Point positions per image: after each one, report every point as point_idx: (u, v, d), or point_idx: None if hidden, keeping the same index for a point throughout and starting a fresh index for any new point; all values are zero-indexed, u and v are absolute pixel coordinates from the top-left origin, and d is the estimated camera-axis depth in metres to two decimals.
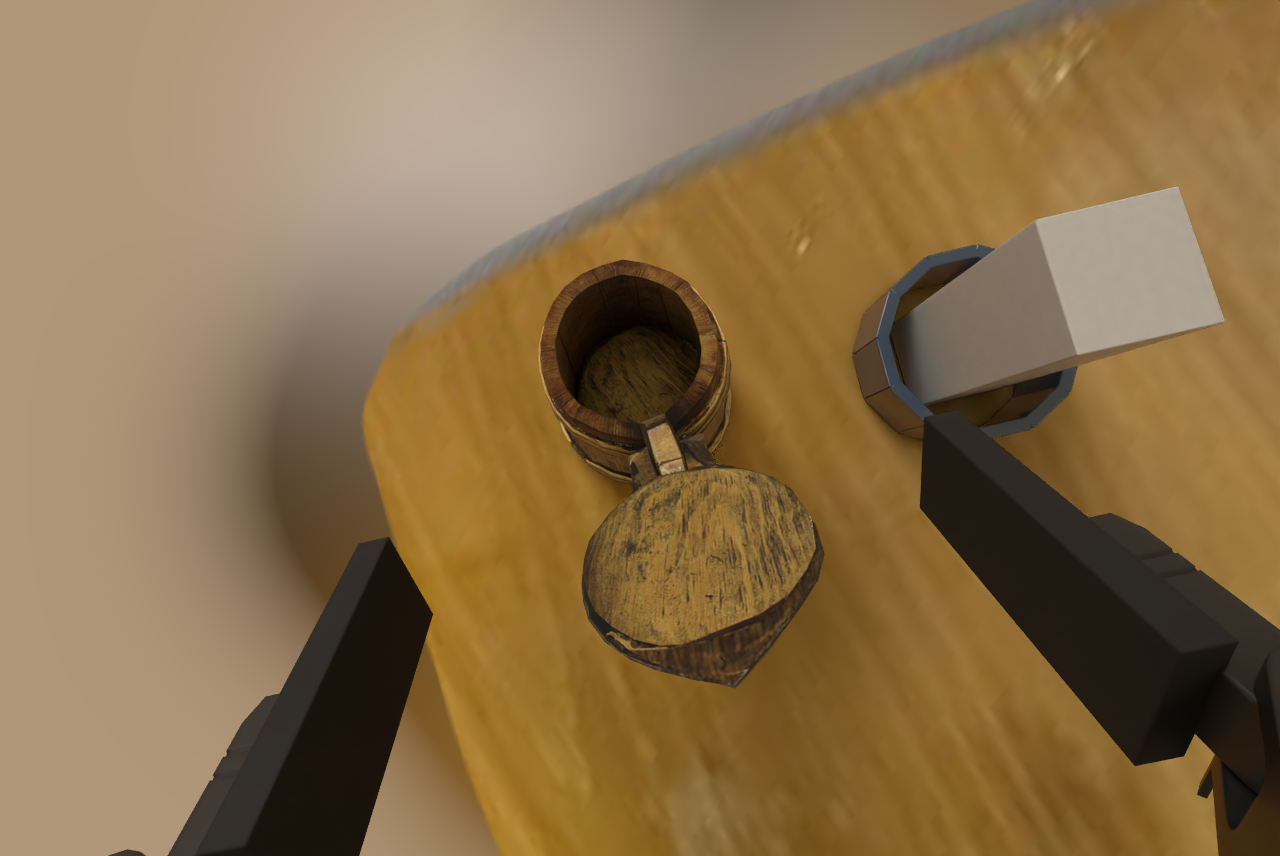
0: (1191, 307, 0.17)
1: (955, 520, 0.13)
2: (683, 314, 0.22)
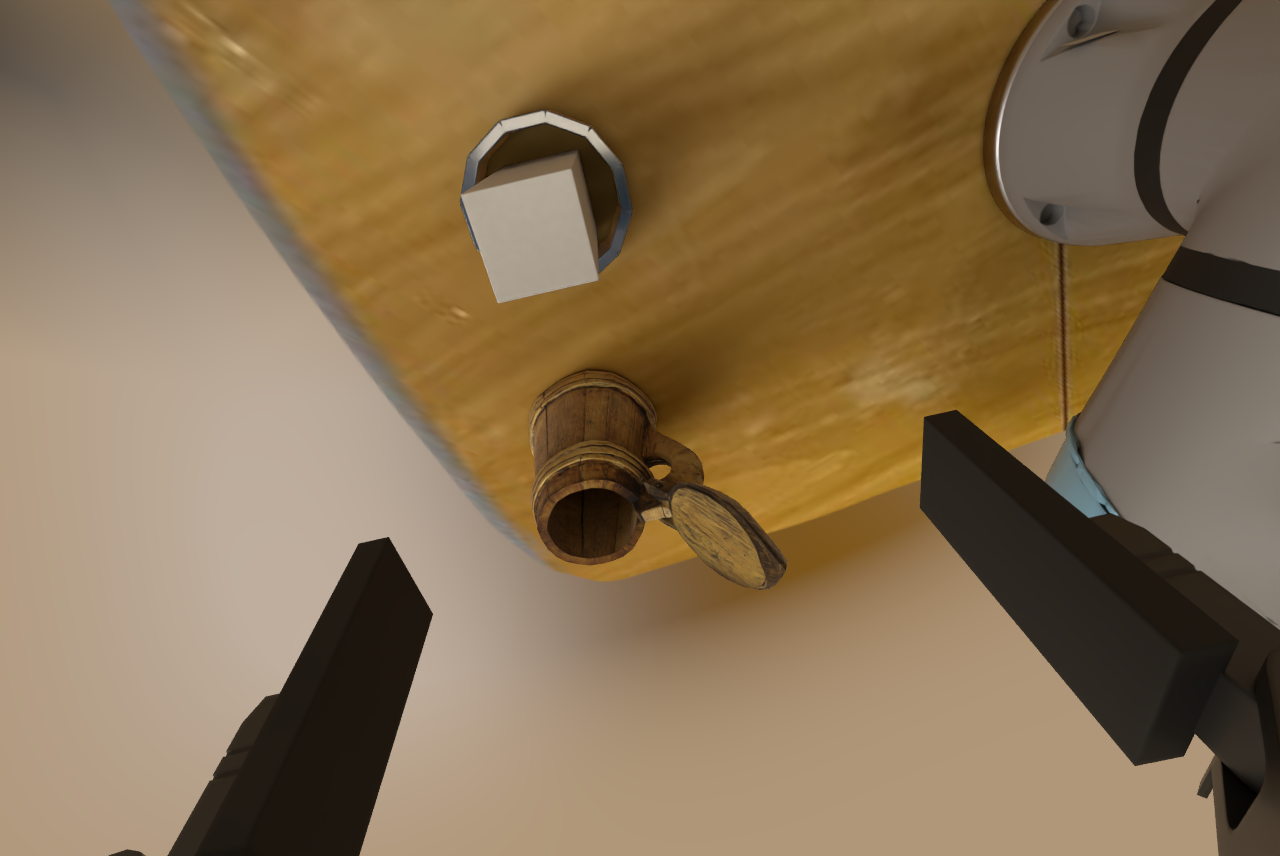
0: (560, 194, 0.22)
1: (955, 520, 0.13)
2: None
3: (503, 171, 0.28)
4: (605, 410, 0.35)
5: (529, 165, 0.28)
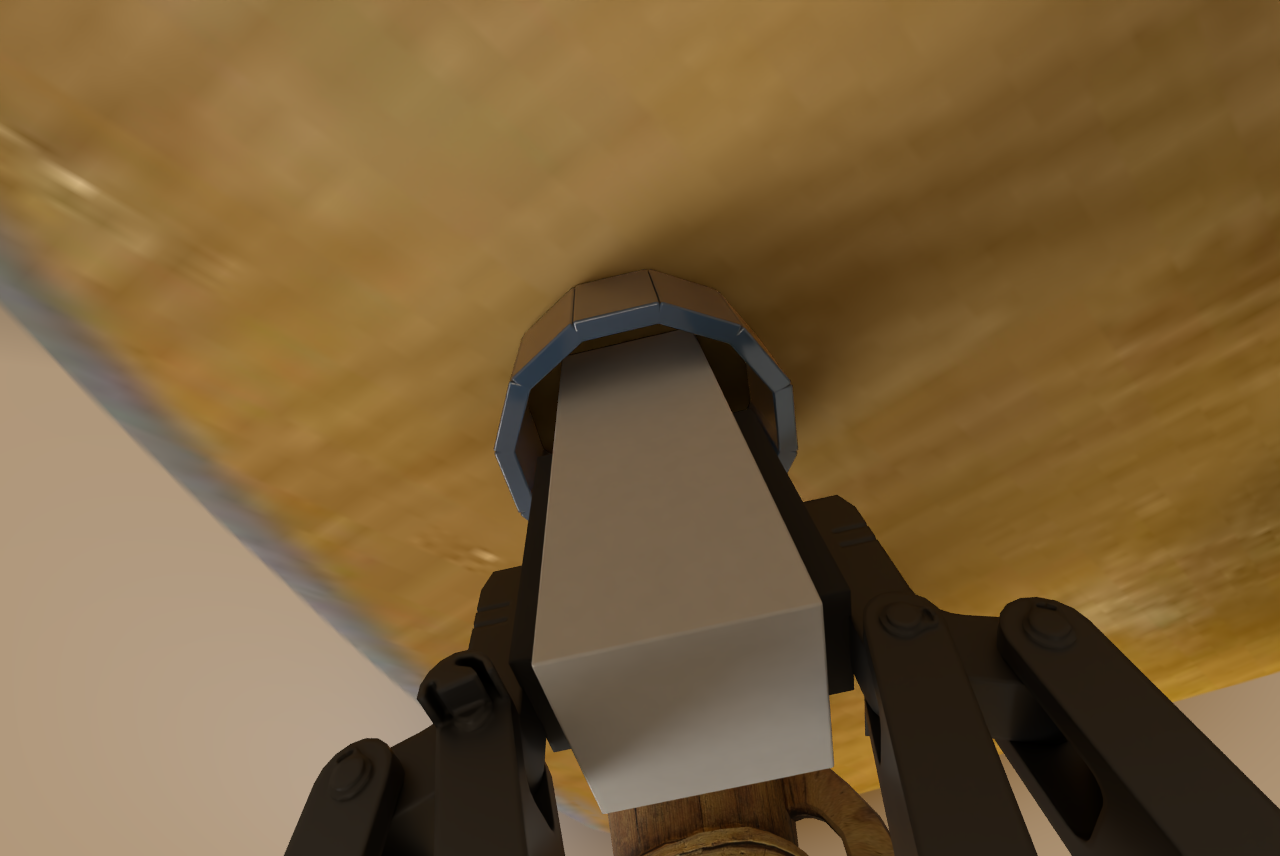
0: (783, 649, 0.09)
1: None
2: None
3: (579, 415, 0.15)
4: None
5: (630, 406, 0.15)
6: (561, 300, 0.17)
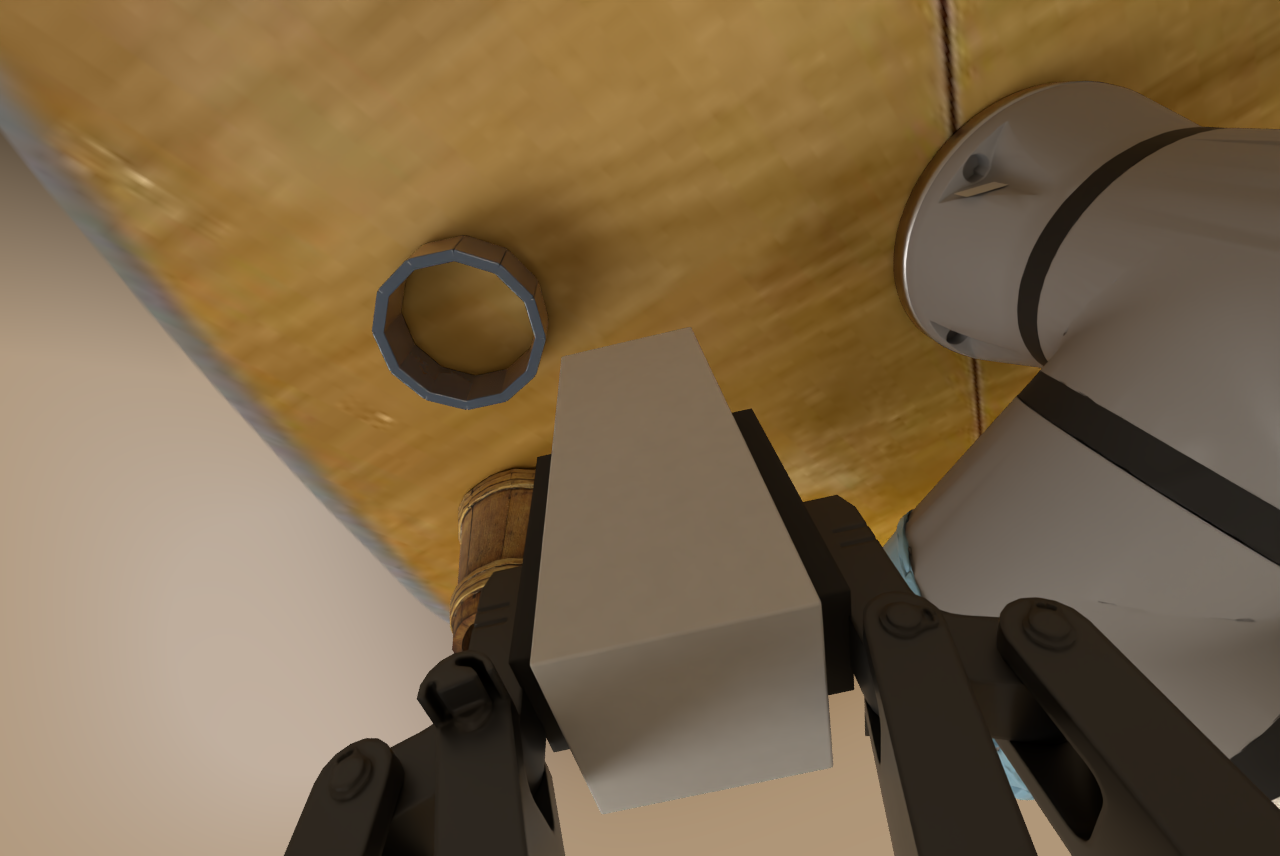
0: (782, 649, 0.09)
1: None
2: None
3: (578, 414, 0.15)
4: (527, 517, 0.36)
5: (629, 406, 0.15)
6: None
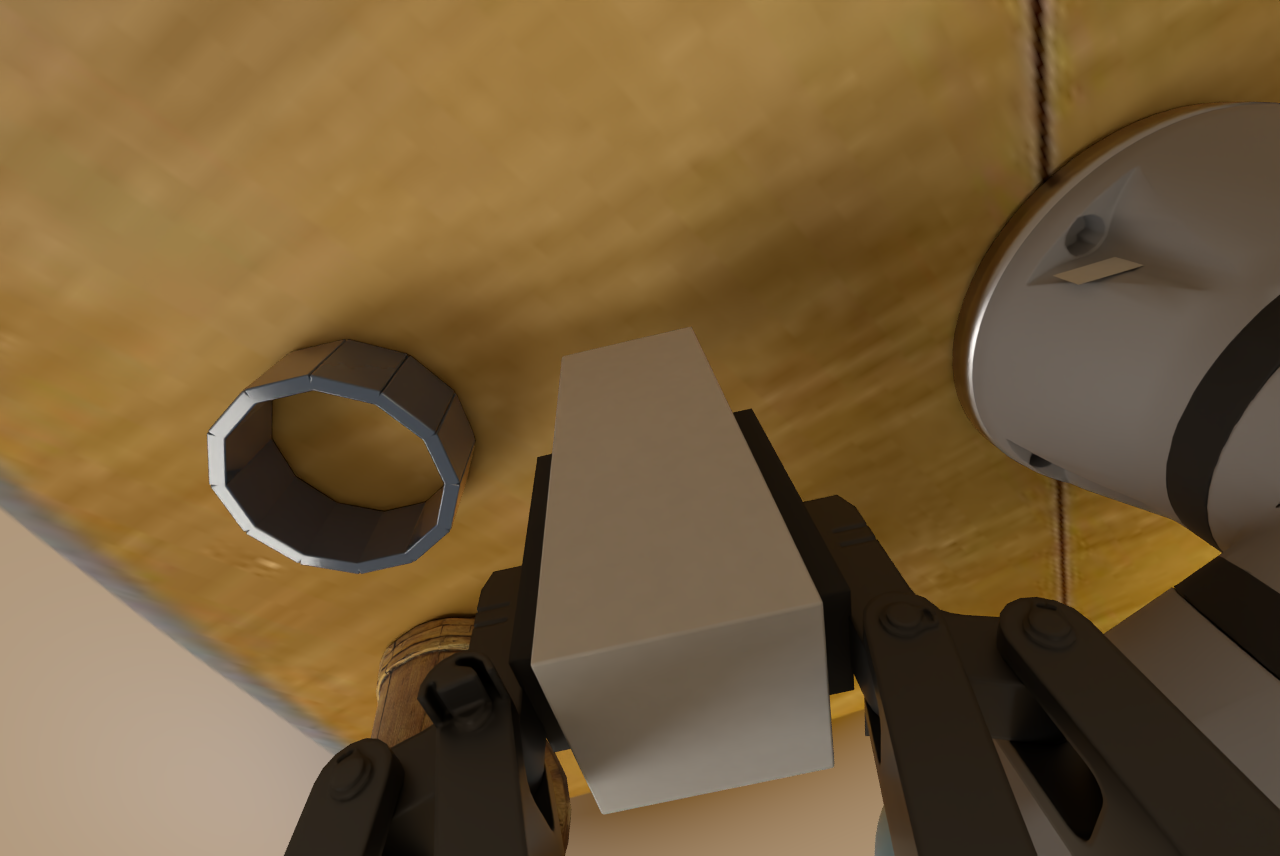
0: (783, 648, 0.09)
1: None
2: None
3: (579, 414, 0.15)
4: None
5: (629, 405, 0.15)
6: None
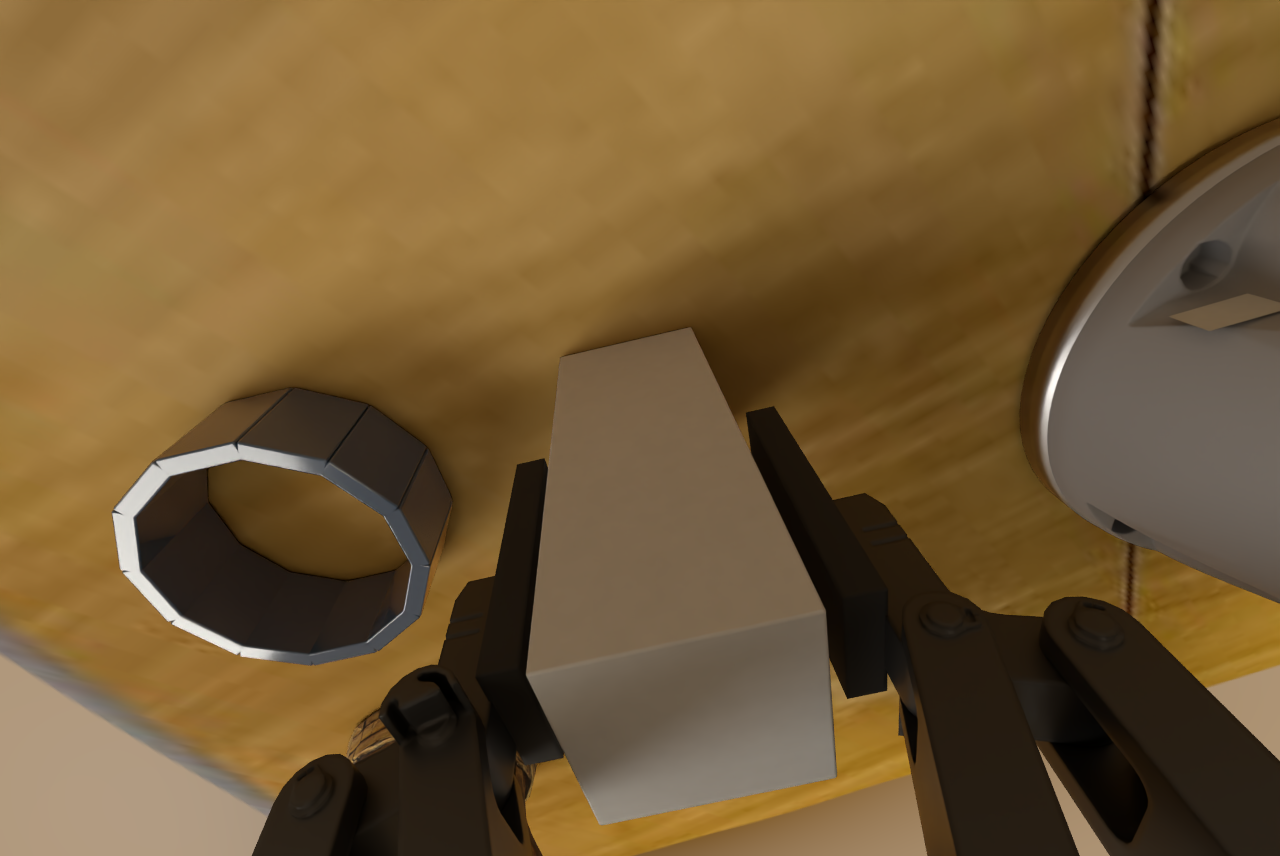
0: (785, 657, 0.08)
1: None
2: None
3: (577, 416, 0.15)
4: None
5: (628, 407, 0.14)
6: None
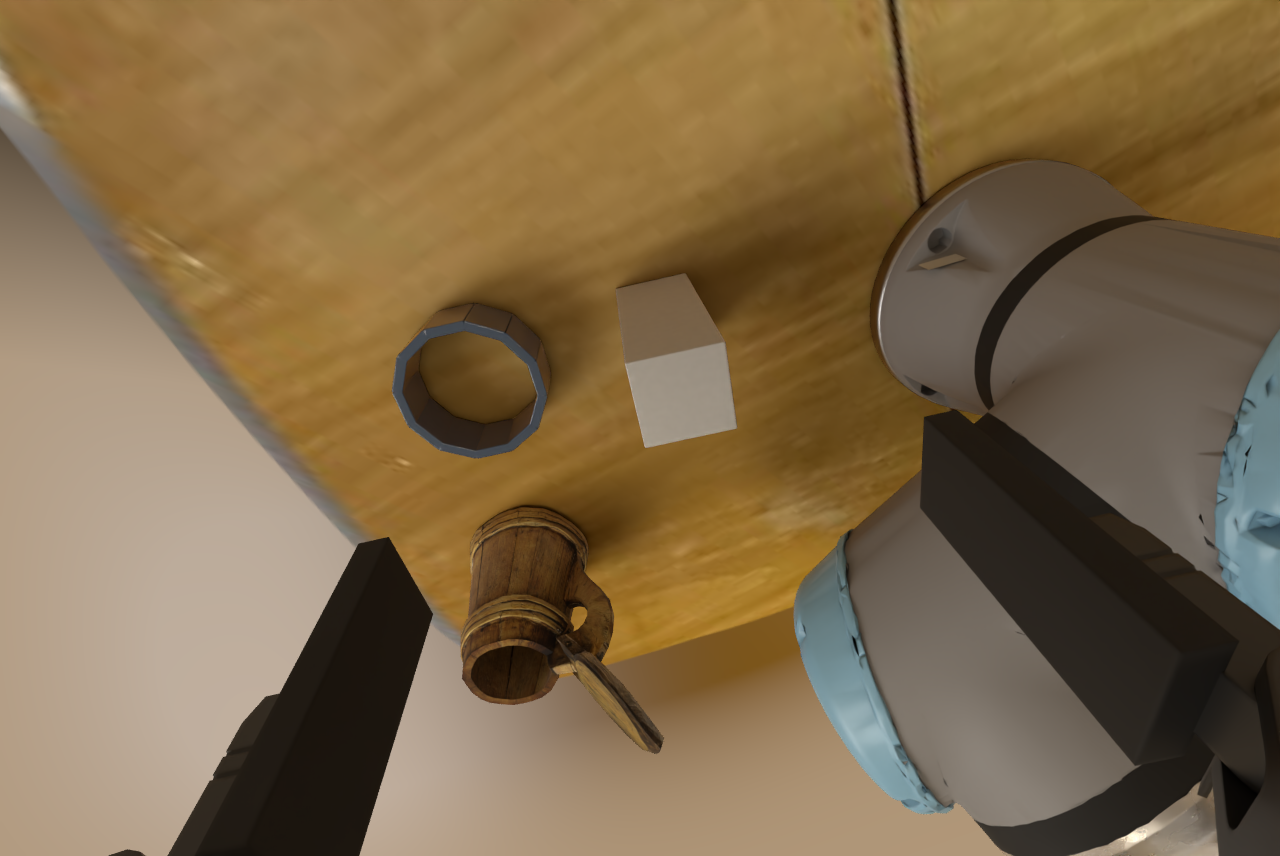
0: (712, 362, 0.25)
1: (955, 520, 0.13)
2: None
3: (630, 307, 0.31)
4: (532, 554, 0.39)
5: (654, 303, 0.31)
6: (430, 318, 0.35)
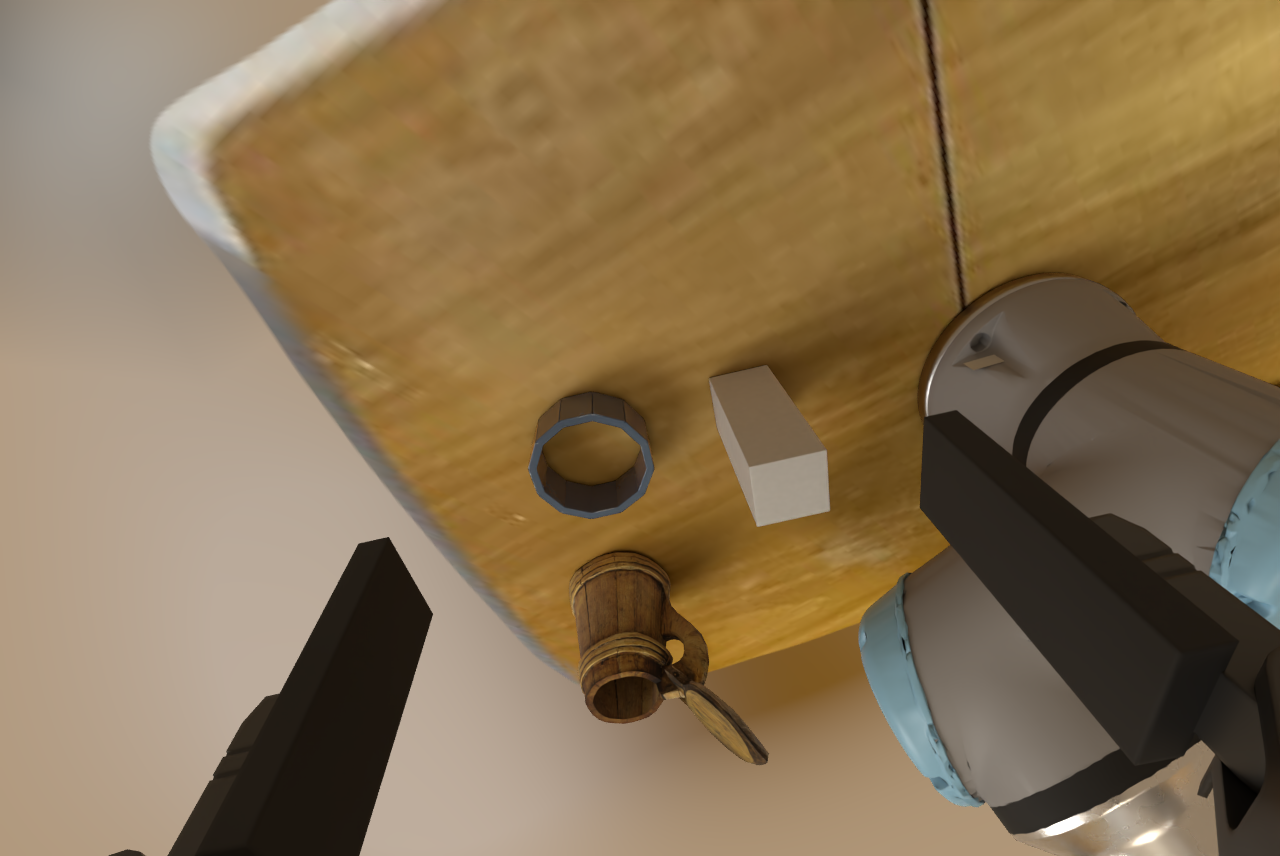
0: (816, 464, 0.32)
1: (955, 520, 0.13)
2: None
3: (730, 403, 0.38)
4: (632, 595, 0.46)
5: (750, 399, 0.38)
6: (555, 405, 0.41)
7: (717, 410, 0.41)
